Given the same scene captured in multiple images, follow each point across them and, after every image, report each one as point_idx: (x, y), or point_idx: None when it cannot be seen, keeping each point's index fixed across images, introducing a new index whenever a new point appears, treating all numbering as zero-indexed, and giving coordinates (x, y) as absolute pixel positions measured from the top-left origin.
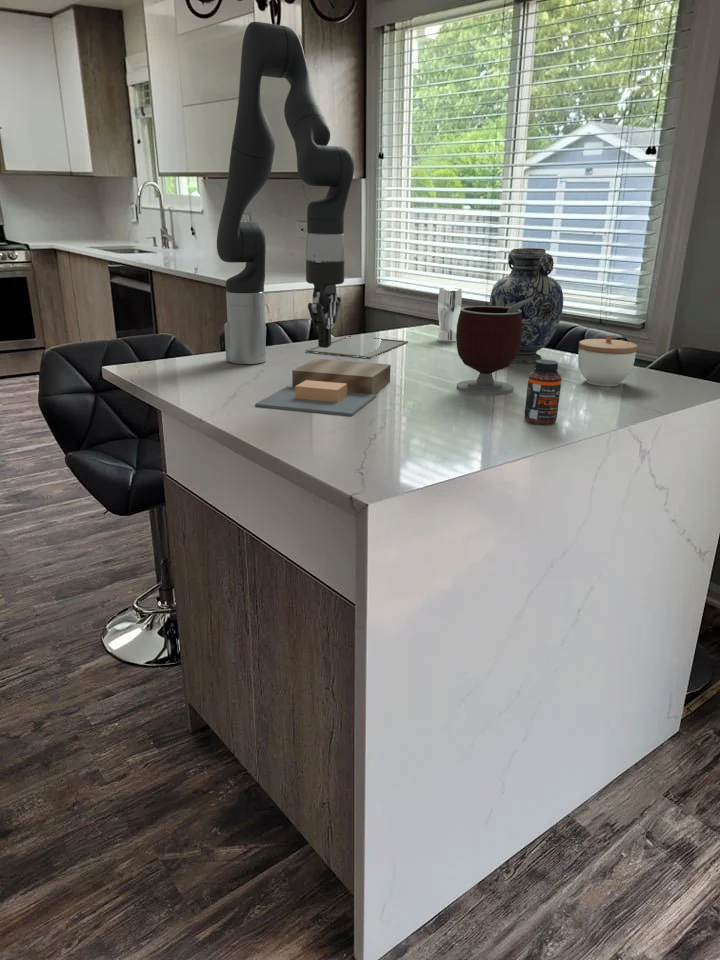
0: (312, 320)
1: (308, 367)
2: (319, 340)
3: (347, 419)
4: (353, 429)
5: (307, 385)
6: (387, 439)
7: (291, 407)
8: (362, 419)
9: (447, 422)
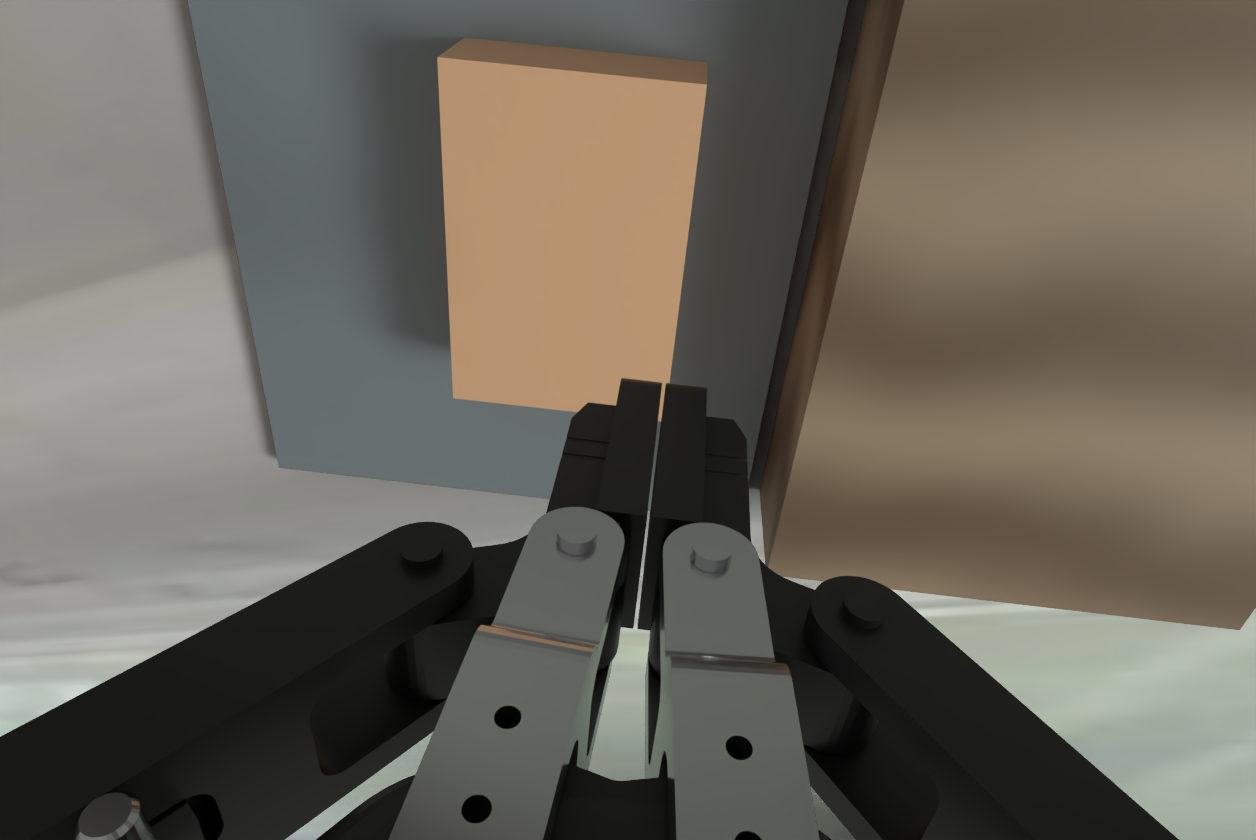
0: (285, 594)
1: (1120, 2)
2: (568, 437)
3: (215, 448)
4: (78, 497)
5: (502, 158)
6: (44, 620)
7: (206, 94)
8: (256, 508)
9: (388, 766)
